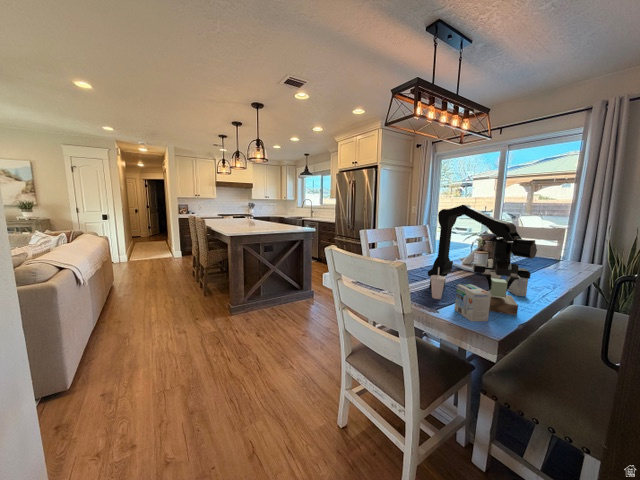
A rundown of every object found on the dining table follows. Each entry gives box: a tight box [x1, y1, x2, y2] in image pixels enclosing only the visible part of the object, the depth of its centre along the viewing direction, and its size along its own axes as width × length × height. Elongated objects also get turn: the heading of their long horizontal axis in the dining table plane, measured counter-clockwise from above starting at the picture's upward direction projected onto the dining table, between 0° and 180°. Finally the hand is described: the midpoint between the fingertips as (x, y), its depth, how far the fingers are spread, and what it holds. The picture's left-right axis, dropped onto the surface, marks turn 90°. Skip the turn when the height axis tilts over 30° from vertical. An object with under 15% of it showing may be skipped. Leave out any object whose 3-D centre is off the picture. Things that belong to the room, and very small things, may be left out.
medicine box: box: [507, 276, 529, 297], centre depth 124 cm, size 8×4×9 cm, turn 168°
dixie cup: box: [487, 258, 502, 279], centre depth 151 cm, size 8×8×10 cm
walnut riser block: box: [489, 294, 519, 316], centre depth 107 cm, size 12×12×4 cm
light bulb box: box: [454, 283, 491, 322], centre depth 98 cm, size 11×7×11 cm, turn 5°
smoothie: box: [430, 267, 447, 300], centre depth 116 cm, size 6×6×14 cm
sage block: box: [488, 278, 508, 298], centre depth 106 cm, size 5×5×6 cm
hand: (497, 290), depth 106 cm, fingers closed on sage block, 5 cm apart
